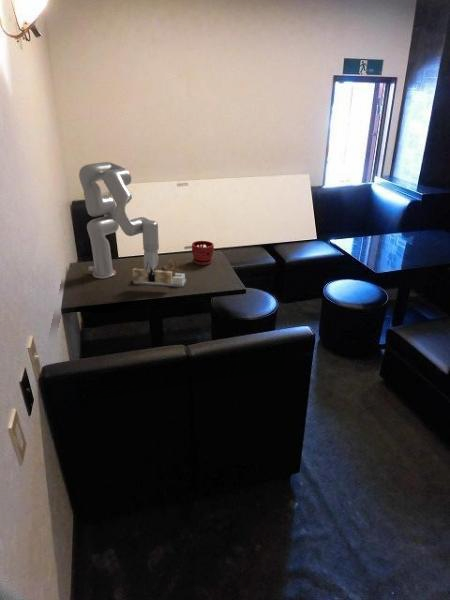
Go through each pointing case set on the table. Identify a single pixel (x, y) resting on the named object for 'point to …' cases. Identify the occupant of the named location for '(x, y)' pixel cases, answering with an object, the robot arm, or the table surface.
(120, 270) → the table surface
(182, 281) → the endcap board
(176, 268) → the wooden fragment
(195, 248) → the plant pot
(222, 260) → the table surface
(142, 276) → the slat
